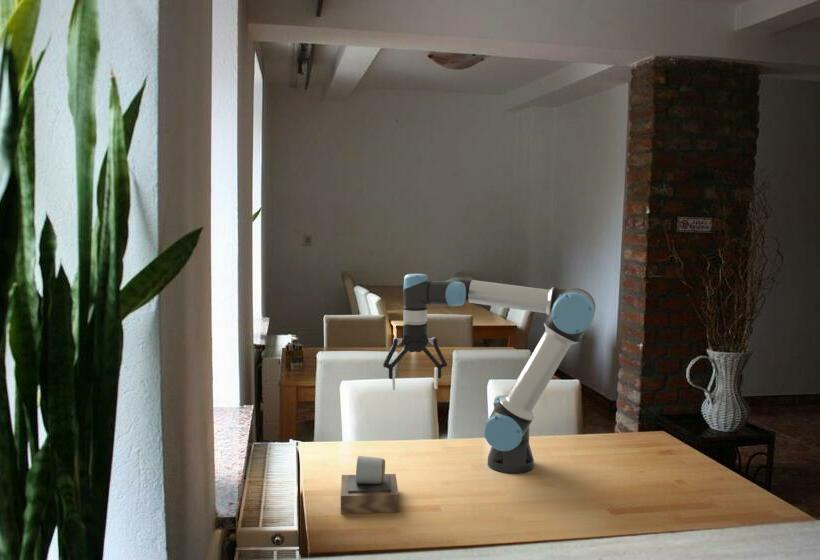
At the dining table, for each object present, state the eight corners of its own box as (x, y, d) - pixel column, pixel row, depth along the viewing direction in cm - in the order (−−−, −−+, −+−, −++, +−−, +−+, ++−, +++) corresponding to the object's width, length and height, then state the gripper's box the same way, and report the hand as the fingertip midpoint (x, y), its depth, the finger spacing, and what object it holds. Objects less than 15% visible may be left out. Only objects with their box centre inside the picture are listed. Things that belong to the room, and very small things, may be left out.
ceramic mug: (384, 487, 205) (384, 460, 204) (355, 487, 205) (355, 460, 204) (385, 474, 216) (385, 449, 215) (357, 474, 216) (358, 449, 215)
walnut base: (395, 490, 218) (395, 471, 218) (398, 512, 202) (398, 492, 202) (341, 491, 217) (341, 472, 216) (340, 513, 201) (340, 493, 201)
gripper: (452, 320, 236) (451, 385, 238) (375, 321, 234) (375, 386, 236) (455, 324, 228) (455, 390, 230) (376, 324, 226) (376, 392, 228)
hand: (414, 388), depth 233 cm, fingers open, 13 cm apart
